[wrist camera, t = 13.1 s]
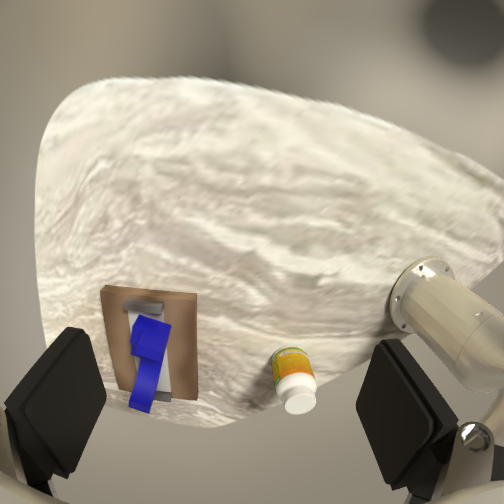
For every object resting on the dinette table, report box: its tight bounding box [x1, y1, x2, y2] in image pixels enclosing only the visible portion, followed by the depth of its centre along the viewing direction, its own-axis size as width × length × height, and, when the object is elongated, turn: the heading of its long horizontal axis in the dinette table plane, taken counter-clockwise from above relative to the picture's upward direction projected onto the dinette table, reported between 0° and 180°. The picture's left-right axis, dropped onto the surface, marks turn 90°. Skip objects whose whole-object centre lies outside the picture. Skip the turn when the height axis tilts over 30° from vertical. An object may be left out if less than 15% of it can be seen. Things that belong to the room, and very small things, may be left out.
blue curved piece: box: [129, 314, 172, 414], centre depth 34 cm, size 12×4×6 cm, turn 161°
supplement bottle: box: [272, 345, 317, 414], centre depth 37 cm, size 5×5×10 cm
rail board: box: [100, 285, 198, 402], centre depth 38 cm, size 13×18×4 cm
